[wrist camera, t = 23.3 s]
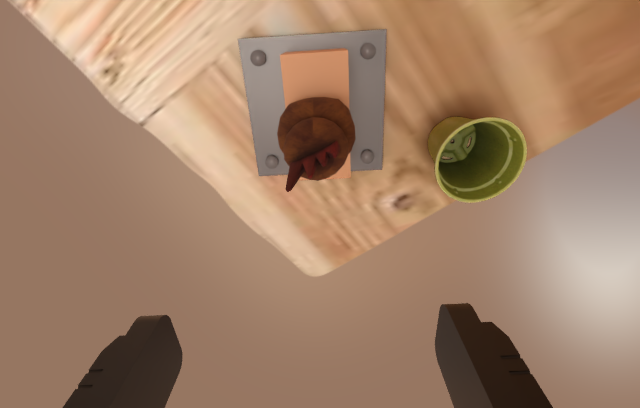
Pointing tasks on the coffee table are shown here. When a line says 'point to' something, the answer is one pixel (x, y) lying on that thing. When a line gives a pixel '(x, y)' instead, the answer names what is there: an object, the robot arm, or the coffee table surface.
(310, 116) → the wooden figurine
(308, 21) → the coffee table surface
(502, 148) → the plant pot
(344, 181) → the coffee table surface
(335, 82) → the brick
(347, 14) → the coffee table surface
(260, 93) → the baseplate
